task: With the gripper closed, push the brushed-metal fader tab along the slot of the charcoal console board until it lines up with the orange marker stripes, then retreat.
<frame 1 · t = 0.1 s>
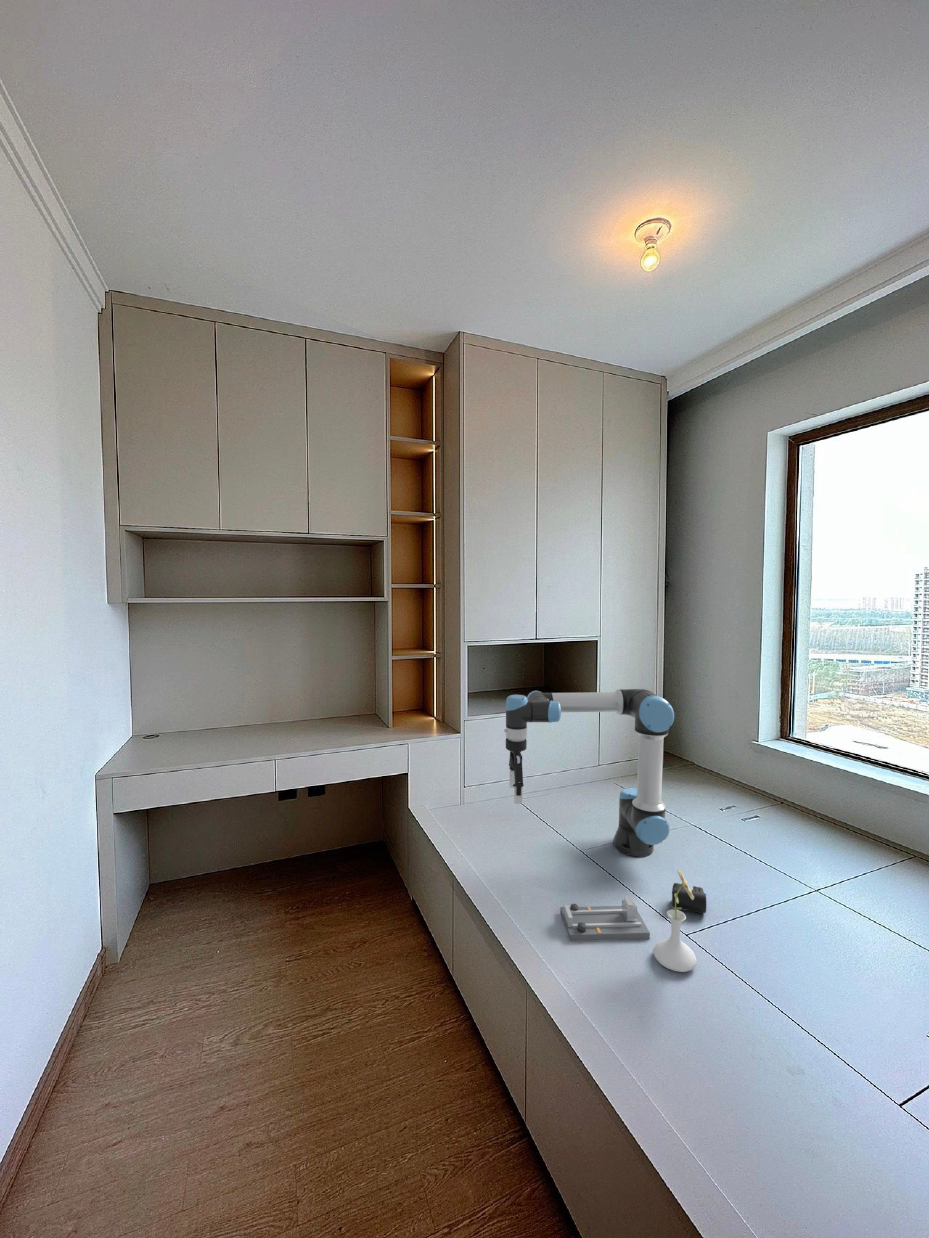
hand: (515, 795, 194), 28 cm above the table, fingers open, 13 cm apart
fader tab: (629, 909, 165), point 5 cm above the table, slide at 0.0 cm
flower in vase: (675, 960, 151), on the table
console: (603, 925, 165), on the table
end cap: (688, 909, 174), on the table
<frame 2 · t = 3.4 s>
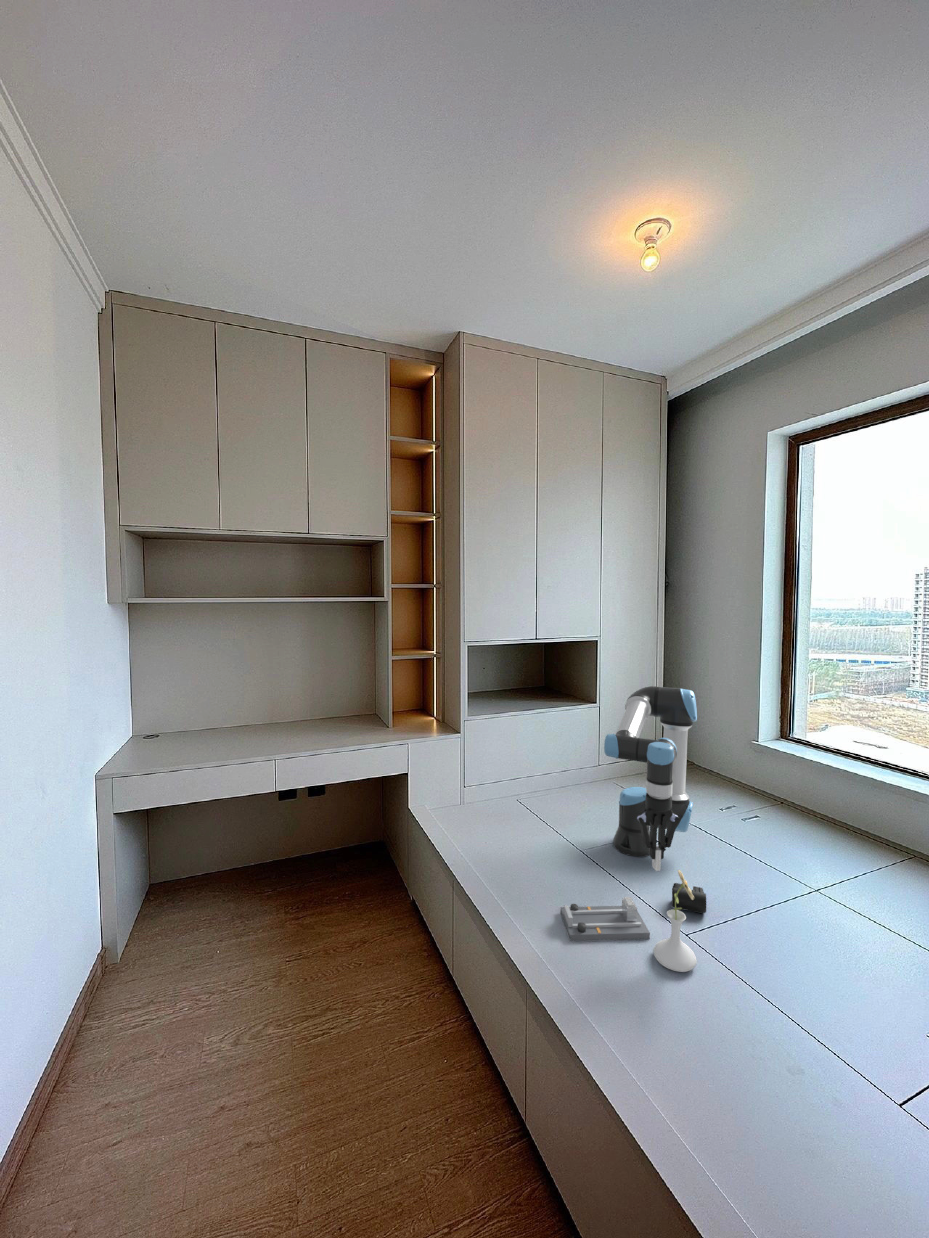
hand: (656, 868, 164), 18 cm above the table, fingers closed
nothing on the table moved.
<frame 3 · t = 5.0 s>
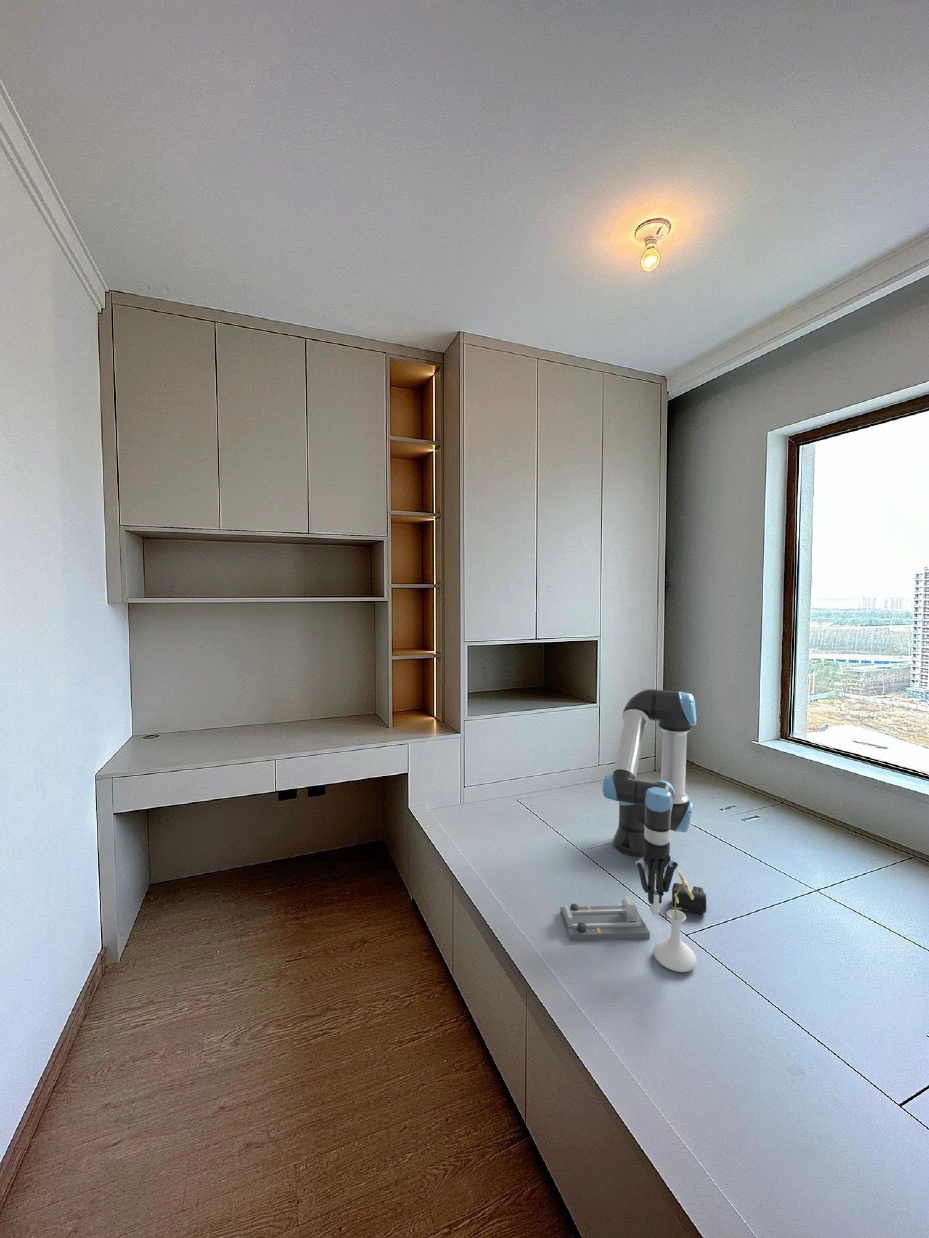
hand: (654, 912, 166), 4 cm above the table, fingers closed
nothing on the table moved.
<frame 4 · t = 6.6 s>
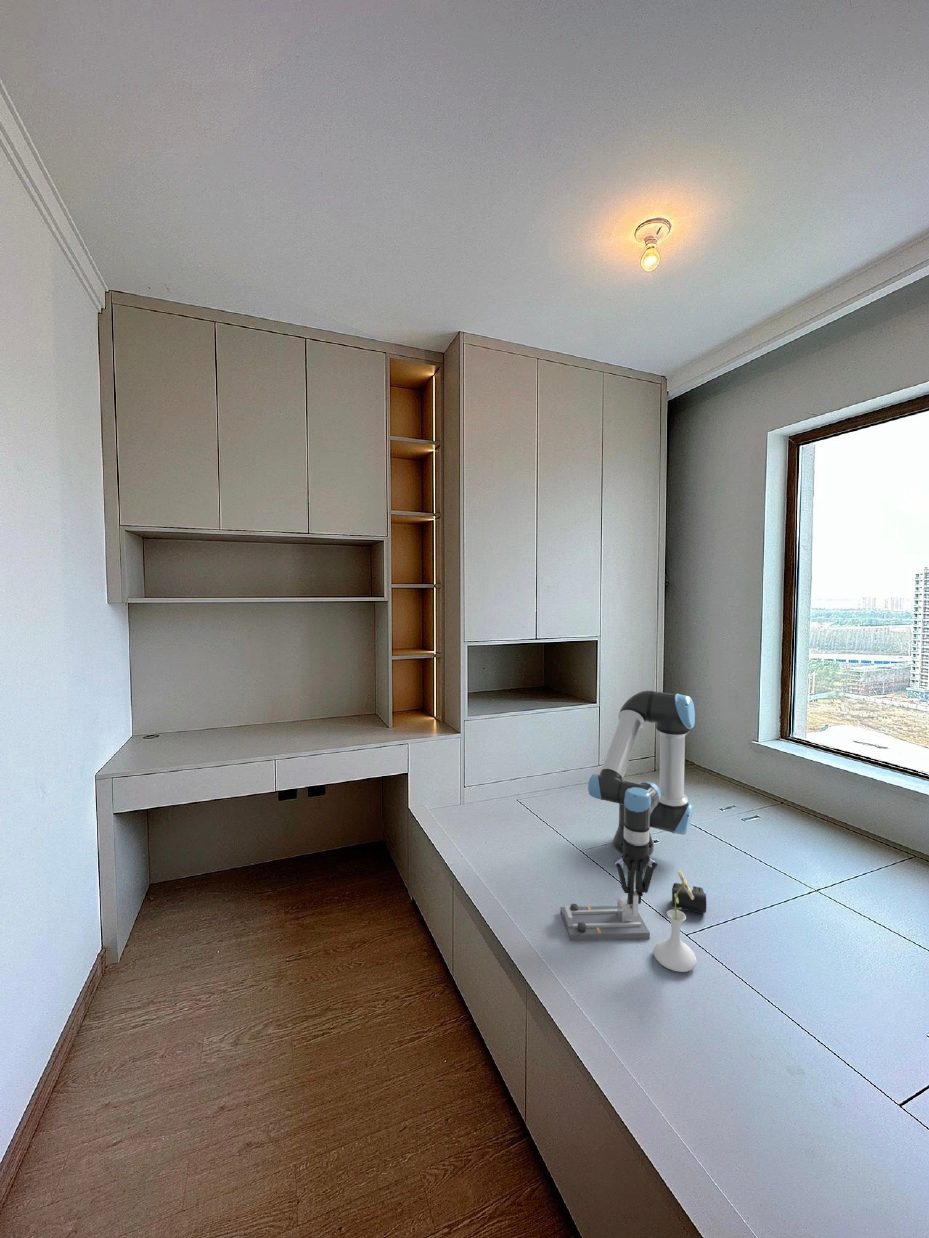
hand: (633, 912, 165), 4 cm above the table, fingers closed
fader tab: (624, 909, 165), point 5 cm above the table, slide at 1.5 cm, touching gripper
everything else where it was.
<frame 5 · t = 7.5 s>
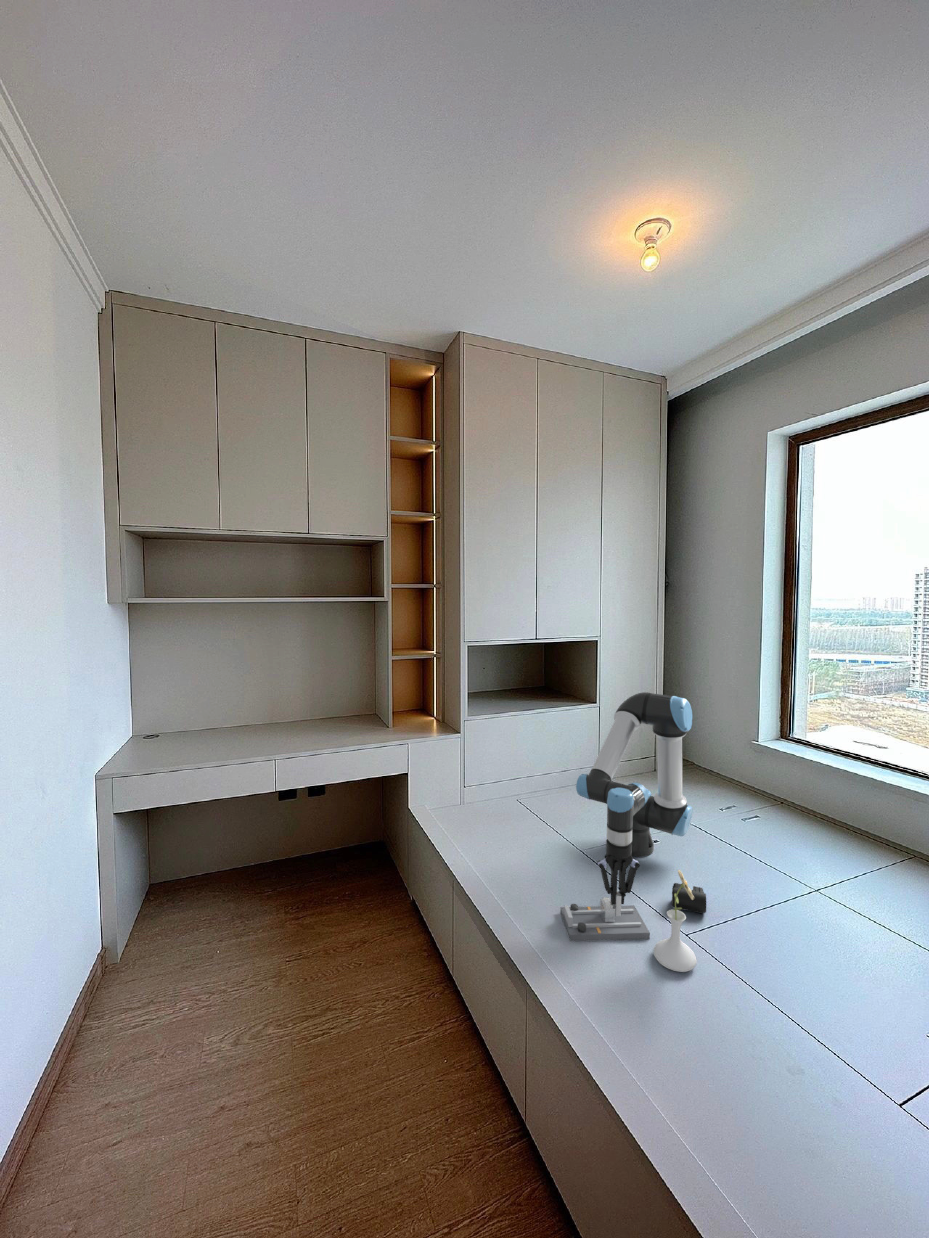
hand: (617, 913, 165), 4 cm above the table, fingers closed
fader tab: (607, 910, 165), point 5 cm above the table, slide at 6.8 cm, touching gripper
everything else where it was.
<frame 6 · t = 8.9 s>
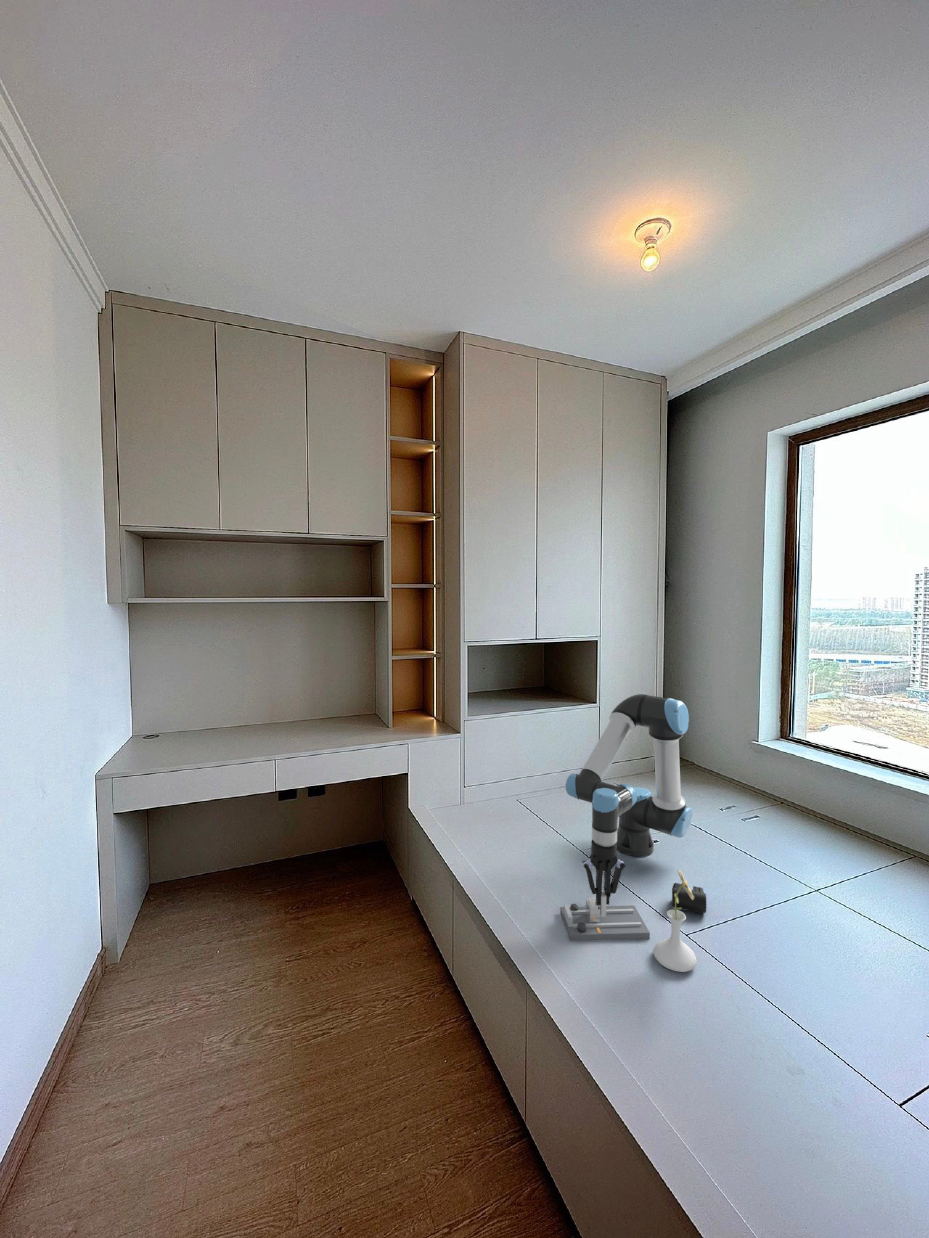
hand: (602, 913, 165), 4 cm above the table, fingers closed
fader tab: (592, 910, 165), point 5 cm above the table, slide at 11.4 cm, touching gripper
everything else where it was.
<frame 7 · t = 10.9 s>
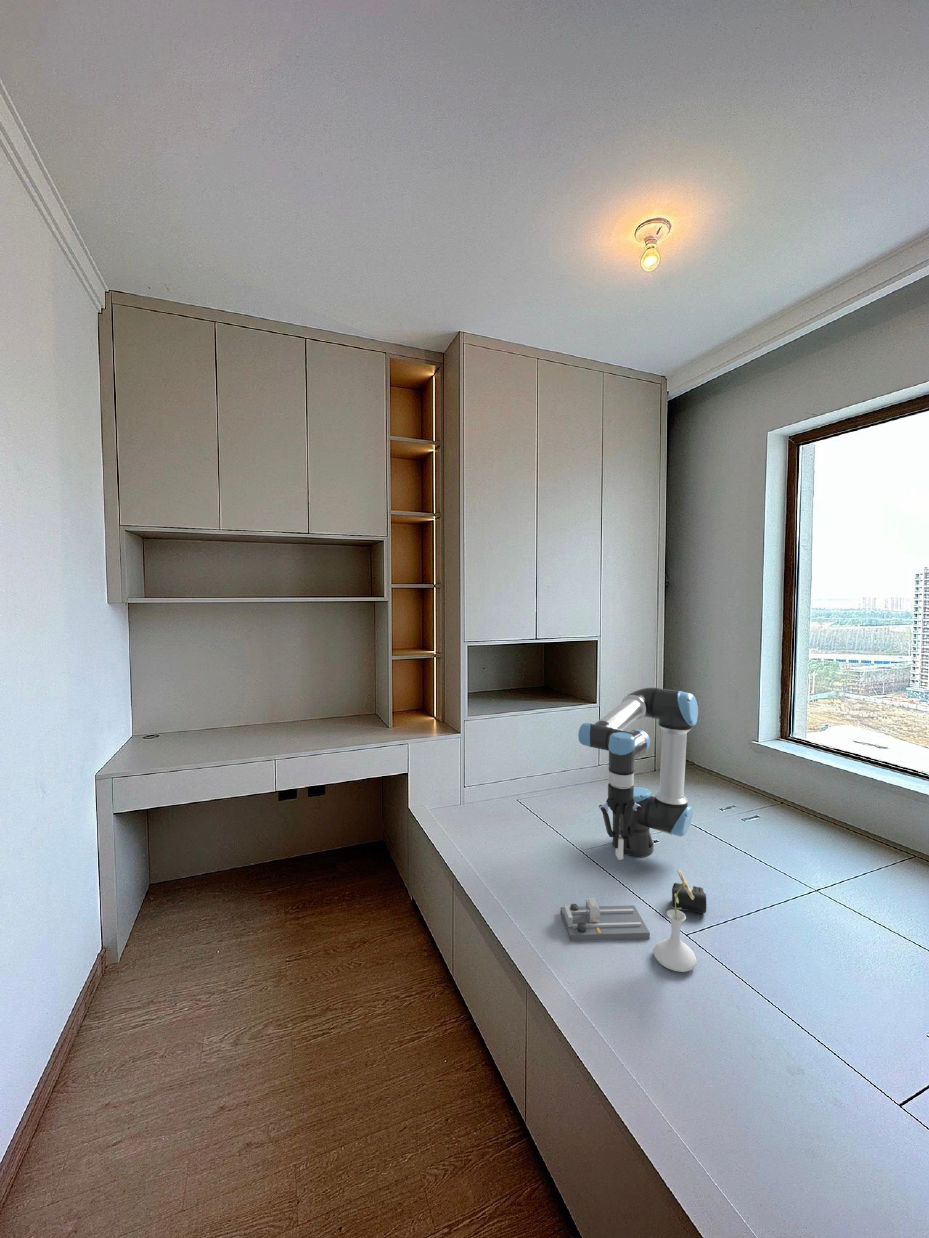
hand: (619, 857, 166), 21 cm above the table, fingers closed
fader tab: (592, 910, 165), point 5 cm above the table, slide at 11.4 cm
everything else where it was.
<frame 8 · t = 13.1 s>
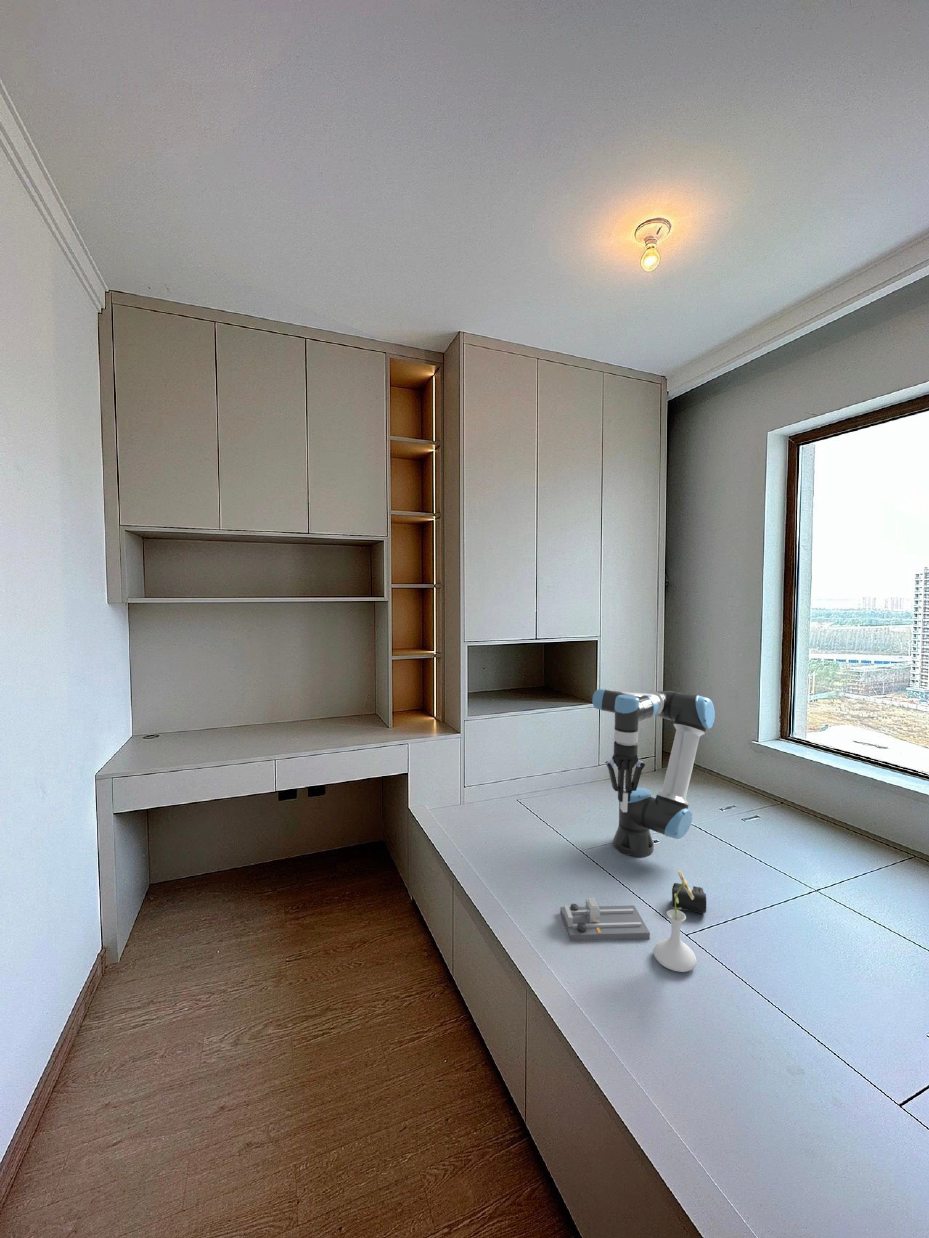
hand: (623, 810, 179), 29 cm above the table, fingers closed
nothing on the table moved.
at the end: fader tab slide at 11.4 cm; the gripper is holding nothing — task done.
